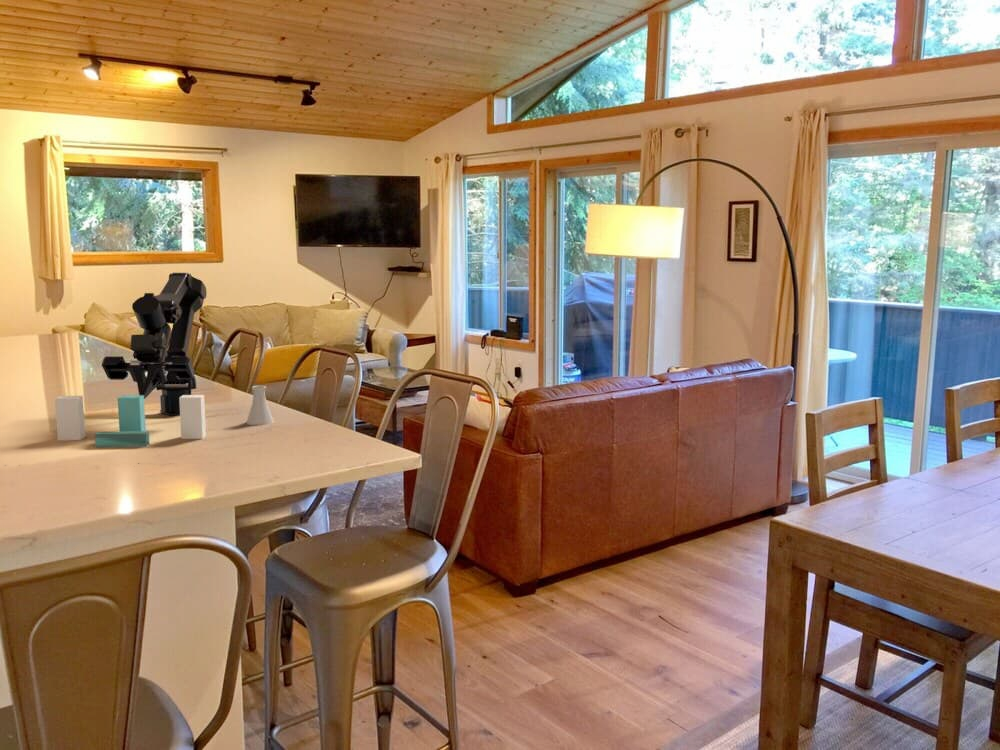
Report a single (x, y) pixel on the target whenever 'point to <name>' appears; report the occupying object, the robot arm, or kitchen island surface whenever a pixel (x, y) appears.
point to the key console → (122, 439)
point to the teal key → (131, 413)
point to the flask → (259, 408)
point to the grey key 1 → (70, 418)
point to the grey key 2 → (192, 416)
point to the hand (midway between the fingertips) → (141, 398)
